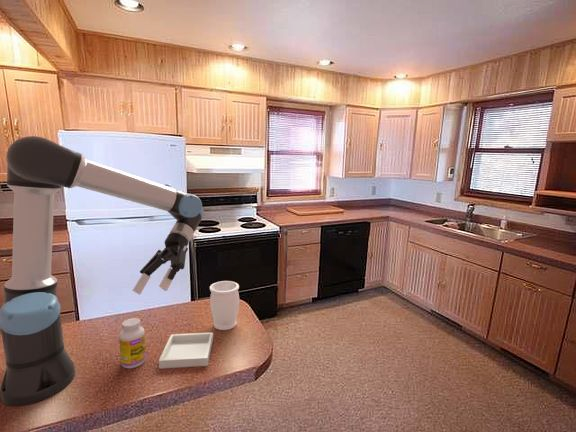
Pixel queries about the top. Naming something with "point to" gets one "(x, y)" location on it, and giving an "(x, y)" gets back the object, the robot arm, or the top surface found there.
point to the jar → (224, 304)
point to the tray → (187, 350)
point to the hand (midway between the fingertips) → (149, 290)
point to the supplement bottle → (132, 343)
